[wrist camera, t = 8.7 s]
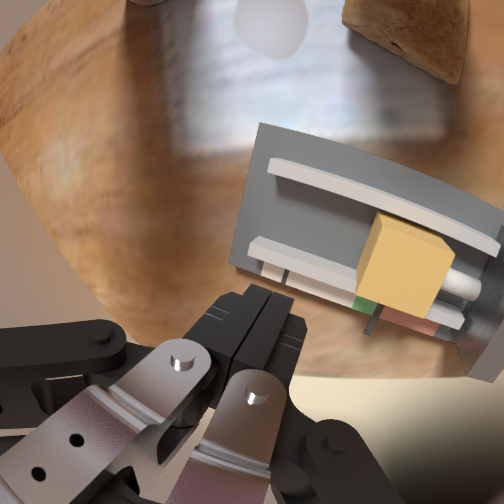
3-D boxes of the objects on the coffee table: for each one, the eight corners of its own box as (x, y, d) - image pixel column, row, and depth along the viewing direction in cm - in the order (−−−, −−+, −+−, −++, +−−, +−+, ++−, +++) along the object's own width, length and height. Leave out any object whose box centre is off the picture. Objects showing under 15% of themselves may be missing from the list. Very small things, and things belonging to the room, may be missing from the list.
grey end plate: (450, 331, 21) (466, 376, 15) (501, 224, 17) (537, 248, 11) (474, 339, 20) (492, 383, 15) (525, 237, 16) (561, 264, 11)
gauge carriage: (339, 309, 23) (332, 343, 19) (377, 209, 20) (382, 225, 16) (431, 340, 21) (440, 377, 17) (477, 251, 18) (501, 275, 14)
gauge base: (235, 257, 27) (218, 272, 24) (265, 124, 22) (250, 120, 19) (469, 340, 22) (478, 362, 19) (525, 224, 17) (544, 235, 14)
